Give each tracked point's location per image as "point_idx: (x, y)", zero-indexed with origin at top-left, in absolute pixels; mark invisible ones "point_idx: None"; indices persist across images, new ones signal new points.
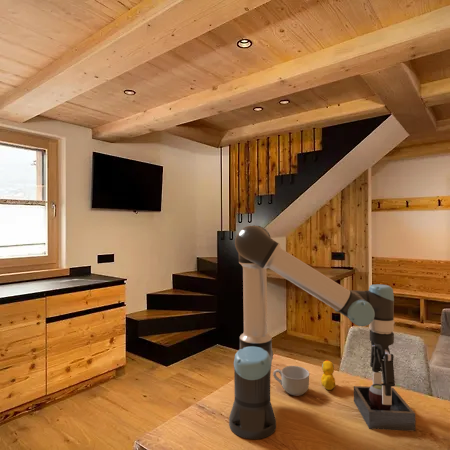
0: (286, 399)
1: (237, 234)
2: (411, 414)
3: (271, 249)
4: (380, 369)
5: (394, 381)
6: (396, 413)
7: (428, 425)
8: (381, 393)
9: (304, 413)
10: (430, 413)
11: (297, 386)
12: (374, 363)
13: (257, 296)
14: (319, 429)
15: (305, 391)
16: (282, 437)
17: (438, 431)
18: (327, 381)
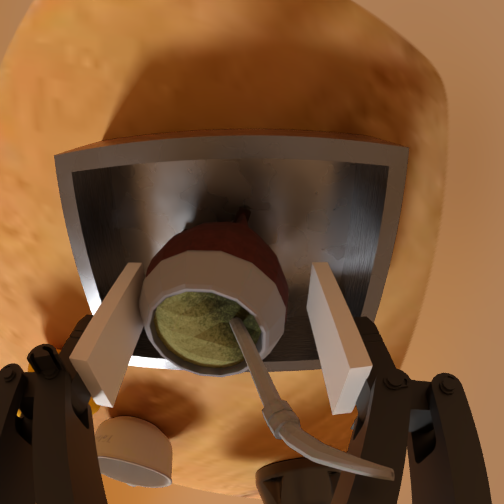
0: (187, 444)
1: None
2: (403, 169)
3: None
4: (44, 365)
5: (469, 409)
6: (389, 254)
7: (314, 44)
8: (279, 336)
9: (251, 431)
10: None
11: (170, 460)
12: (102, 489)
13: None
14: (325, 414)
15: (153, 430)
16: (342, 448)
17: (361, 31)
18: (99, 407)
